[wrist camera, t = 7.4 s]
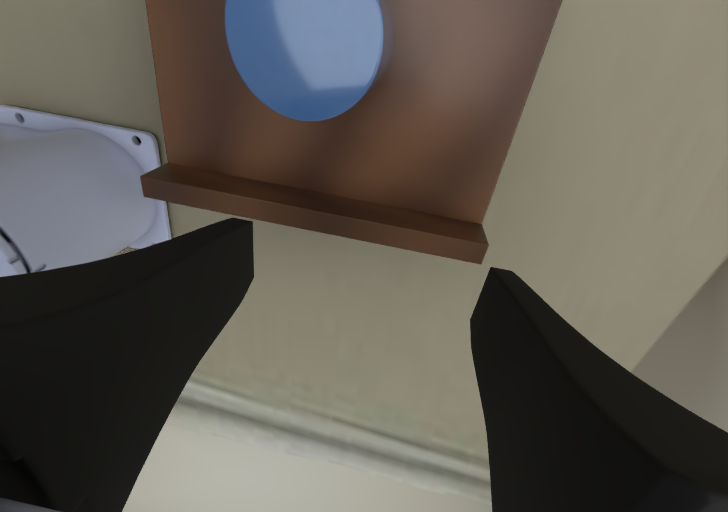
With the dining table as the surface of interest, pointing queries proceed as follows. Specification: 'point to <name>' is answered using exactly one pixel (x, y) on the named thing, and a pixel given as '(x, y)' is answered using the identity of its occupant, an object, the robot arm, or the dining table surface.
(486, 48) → the shelf
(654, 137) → the dining table surface
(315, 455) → the dining table surface
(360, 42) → the blue cup
